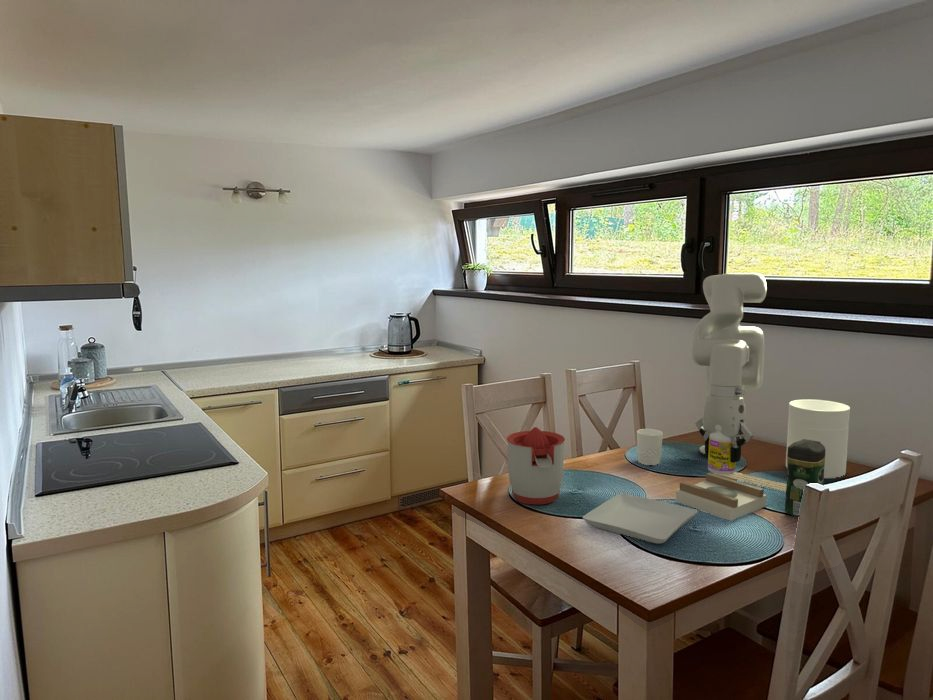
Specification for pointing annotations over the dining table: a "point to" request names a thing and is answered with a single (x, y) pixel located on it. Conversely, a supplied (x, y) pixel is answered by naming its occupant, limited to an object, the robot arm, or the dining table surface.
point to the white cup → (649, 446)
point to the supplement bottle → (720, 453)
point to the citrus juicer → (535, 465)
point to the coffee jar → (802, 471)
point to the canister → (821, 430)
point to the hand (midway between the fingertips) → (722, 457)
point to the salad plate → (640, 517)
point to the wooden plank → (755, 480)
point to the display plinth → (722, 497)
